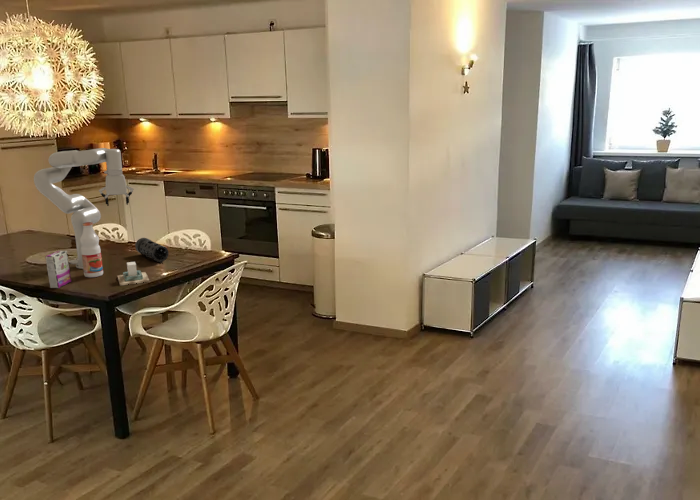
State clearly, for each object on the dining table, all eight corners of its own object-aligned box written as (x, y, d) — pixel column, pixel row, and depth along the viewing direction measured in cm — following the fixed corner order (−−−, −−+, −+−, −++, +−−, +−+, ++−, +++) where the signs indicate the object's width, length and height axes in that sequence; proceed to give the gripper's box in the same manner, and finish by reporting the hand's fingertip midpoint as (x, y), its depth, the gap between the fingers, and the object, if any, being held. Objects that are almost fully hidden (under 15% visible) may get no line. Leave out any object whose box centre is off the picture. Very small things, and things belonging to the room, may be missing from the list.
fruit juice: (93, 272, 341) (87, 220, 334) (107, 273, 338) (101, 221, 331) (80, 276, 332) (73, 224, 325) (94, 278, 329) (88, 225, 322)
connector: (129, 279, 322) (127, 265, 320) (128, 276, 328) (126, 262, 326) (137, 278, 324) (135, 264, 322) (136, 275, 329) (134, 261, 327)
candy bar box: (62, 281, 325) (58, 250, 321) (71, 281, 324) (67, 250, 320) (49, 288, 314) (44, 256, 310) (58, 288, 313) (54, 256, 309)
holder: (120, 285, 316) (119, 279, 315) (117, 277, 330) (116, 271, 330) (149, 281, 321) (148, 276, 321) (145, 273, 336) (145, 268, 335)
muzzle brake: (153, 265, 352) (151, 247, 350) (134, 255, 374) (133, 238, 371) (170, 262, 358) (168, 244, 356) (150, 252, 379) (149, 235, 377)
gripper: (97, 174, 329) (100, 207, 333) (132, 173, 335) (135, 205, 339) (97, 172, 336) (100, 204, 340) (131, 171, 342) (134, 202, 346)
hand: (117, 204), depth 340 cm, fingers open, 9 cm apart
